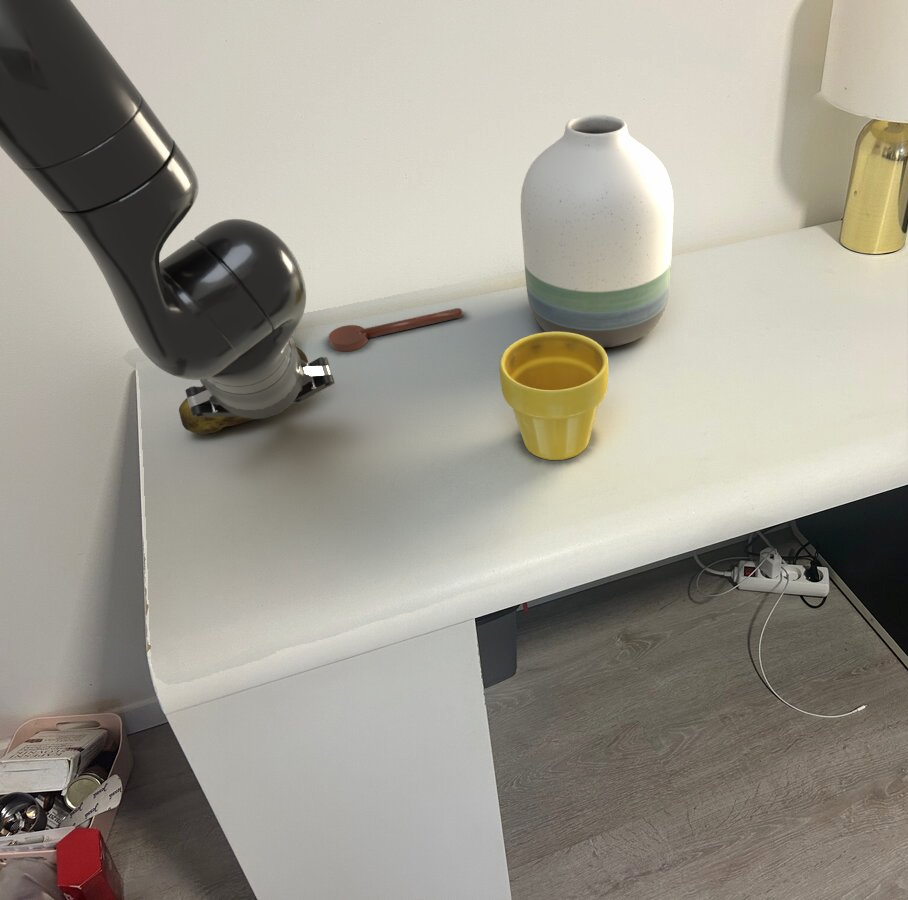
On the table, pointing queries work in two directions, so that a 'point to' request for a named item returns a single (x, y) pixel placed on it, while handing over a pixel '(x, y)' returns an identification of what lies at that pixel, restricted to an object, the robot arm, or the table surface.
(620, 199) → the vase
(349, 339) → the wooden spoon
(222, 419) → the potato
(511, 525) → the table surface
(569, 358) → the flower pot
